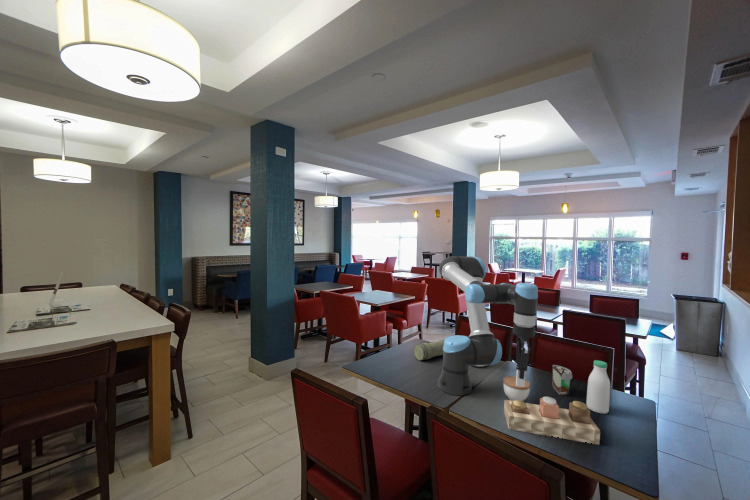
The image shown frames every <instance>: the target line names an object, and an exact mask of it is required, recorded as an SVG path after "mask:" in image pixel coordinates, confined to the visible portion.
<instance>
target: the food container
mask: <svg viewBox="0 0 750 500" xmlns="http://www.w3.org/2000/svg"><path fill="white" fill-rule="evenodd" d="M572 379H573V373H572V371H571V370H570V369H569V368H567V367H564V366H561V365H557V364H552V387H553V389H554V390H555V391H556V392H557V394H558V395H559V396H562V397H563V396H567V395H569V393H570V392H569V391H570V386H571V385H570V384H571V380H572Z"/></svg>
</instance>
